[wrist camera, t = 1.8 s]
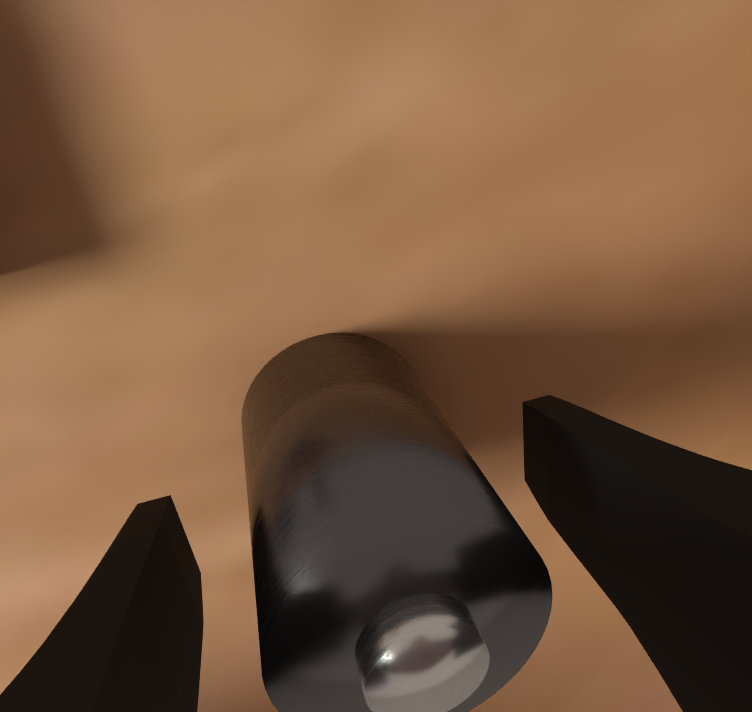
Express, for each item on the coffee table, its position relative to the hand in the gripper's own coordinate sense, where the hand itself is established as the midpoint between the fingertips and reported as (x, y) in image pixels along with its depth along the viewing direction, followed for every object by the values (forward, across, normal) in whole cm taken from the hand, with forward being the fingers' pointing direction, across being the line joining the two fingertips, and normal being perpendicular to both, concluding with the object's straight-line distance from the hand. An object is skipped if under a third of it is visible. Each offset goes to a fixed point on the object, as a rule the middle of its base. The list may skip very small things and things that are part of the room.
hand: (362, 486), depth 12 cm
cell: (+3, 0, 0) cm, 3 cm away
